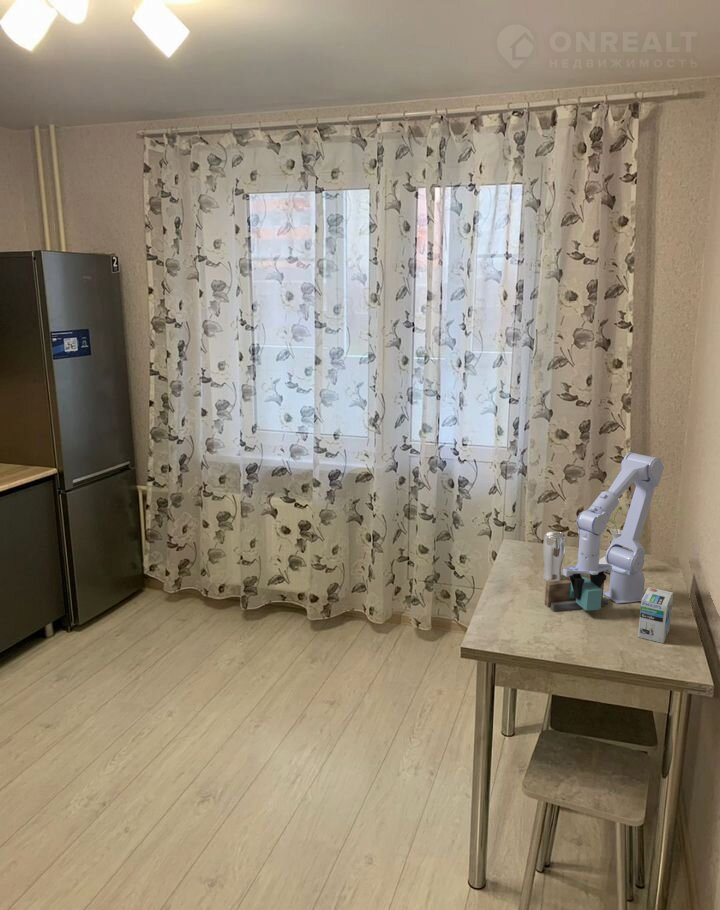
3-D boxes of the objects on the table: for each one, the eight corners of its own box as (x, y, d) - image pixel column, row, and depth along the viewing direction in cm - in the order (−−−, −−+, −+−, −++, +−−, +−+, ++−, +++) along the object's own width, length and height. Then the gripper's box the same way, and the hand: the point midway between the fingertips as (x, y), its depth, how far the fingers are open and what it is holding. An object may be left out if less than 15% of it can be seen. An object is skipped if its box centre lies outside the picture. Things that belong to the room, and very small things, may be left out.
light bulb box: (663, 644, 180) (668, 606, 177) (636, 637, 183) (640, 600, 181) (670, 628, 188) (674, 591, 186) (644, 622, 192) (647, 586, 190)
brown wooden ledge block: (598, 598, 207) (600, 576, 205) (608, 605, 202) (610, 583, 201) (544, 604, 203) (546, 582, 201) (553, 611, 198) (554, 589, 196)
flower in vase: (638, 577, 223) (645, 503, 217) (603, 577, 223) (609, 503, 218) (623, 562, 236) (630, 492, 230) (590, 562, 236) (596, 492, 230)
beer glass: (565, 577, 223) (569, 533, 219) (559, 584, 217) (562, 539, 214) (544, 572, 226) (547, 529, 223) (537, 579, 221) (540, 535, 217)
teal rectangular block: (582, 595, 203) (584, 576, 201) (600, 609, 194) (602, 589, 193) (569, 596, 202) (571, 578, 200) (586, 610, 193) (588, 591, 192)
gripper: (573, 559, 189) (570, 605, 192) (619, 555, 193) (615, 600, 196) (560, 550, 196) (557, 595, 199) (605, 547, 199) (601, 590, 202)
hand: (585, 597), depth 198 cm, fingers closed on teal rectangular block, 4 cm apart
